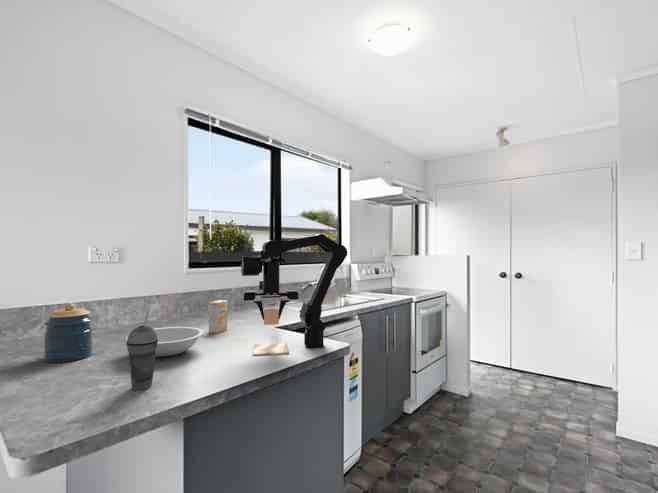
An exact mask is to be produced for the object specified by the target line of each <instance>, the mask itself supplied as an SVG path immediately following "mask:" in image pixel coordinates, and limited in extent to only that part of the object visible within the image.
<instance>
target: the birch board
mask: <svg viewBox="0 0 658 493" xmlns="http://www.w3.org/2000/svg"><path fill="white" fill-rule="evenodd" d="M252 350H253V351H252V356H253V357H254V356H255V357H256V356H273V355H274V356H276V355H280V356H281V355H289V354H290V350H289V348H288V342H285V343H262V344H260V343H257V344H253V349H252Z"/></svg>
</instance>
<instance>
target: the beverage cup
mask: <svg viewBox="0 0 658 493" xmlns="http://www.w3.org/2000/svg"><path fill="white" fill-rule="evenodd" d="M149 310H150V309H149V308H146V313H145V320H144V325H139V326H136V327H135V328H133V329H132V330H131V331H130V332H129V334H128V335H127V336H128V338H127V342H126V344H125V345H126V348H127V353H128V358H129V359H128V360H129V375H130V384H131V390H132V391H144V390H148V389H150V388H151V387H152V385H153V379H154V372H155V371H154V370H155V362H156V356H155V353H156V348H157V342H158V337H157V334H156V332H155V330H154V329H155V328H153V327H151V326H149V325H148V318H149V317H148V316H149Z"/></svg>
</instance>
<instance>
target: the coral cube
mask: <svg viewBox="0 0 658 493" xmlns="http://www.w3.org/2000/svg"><path fill="white" fill-rule="evenodd" d="M263 311H264V320H263V325H264V326H267V325H279V320H280V319H279V307H263Z"/></svg>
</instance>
